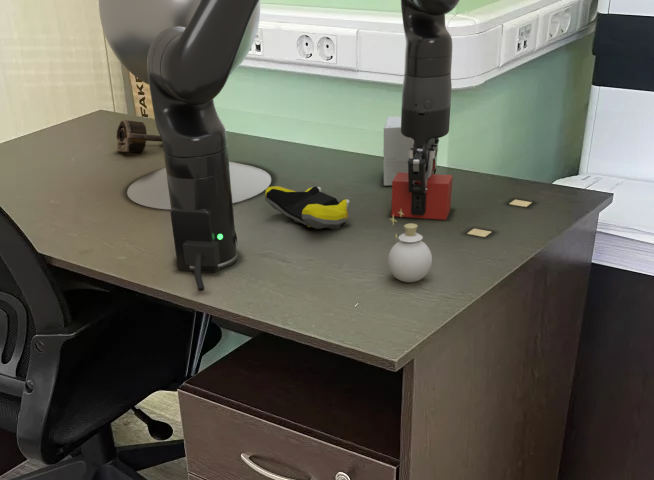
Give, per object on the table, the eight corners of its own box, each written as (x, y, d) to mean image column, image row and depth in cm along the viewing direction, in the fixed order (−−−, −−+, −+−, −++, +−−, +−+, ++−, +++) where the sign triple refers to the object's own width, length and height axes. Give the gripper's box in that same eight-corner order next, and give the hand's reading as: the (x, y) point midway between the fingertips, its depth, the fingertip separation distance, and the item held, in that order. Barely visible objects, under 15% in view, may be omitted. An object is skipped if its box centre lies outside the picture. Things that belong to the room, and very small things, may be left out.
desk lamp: (223, 154, 181) (200, -92, 157) (300, 184, 161) (287, -93, 137) (103, 185, 169) (59, -77, 145) (170, 221, 149) (132, -76, 125)
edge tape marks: (484, 237, 133) (484, 236, 133) (466, 233, 134) (466, 233, 134) (532, 202, 144) (532, 202, 144) (515, 200, 145) (515, 199, 145)
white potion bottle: (408, 293, 118) (409, 223, 113) (372, 276, 123) (372, 209, 118) (440, 280, 121) (443, 212, 115) (404, 265, 126) (405, 198, 121)
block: (446, 219, 140) (448, 183, 137) (391, 216, 143) (392, 180, 140) (450, 210, 144) (452, 175, 140) (396, 207, 146) (397, 172, 143)
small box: (414, 186, 155) (415, 126, 149) (382, 186, 156) (383, 127, 151) (416, 172, 162) (417, 115, 156) (386, 172, 163) (386, 115, 157)
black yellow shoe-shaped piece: (310, 243, 136) (361, 227, 140) (308, 209, 133) (361, 194, 137) (261, 217, 147) (309, 204, 151) (258, 186, 144) (308, 173, 148)
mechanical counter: (112, 122, 189) (108, 123, 180) (169, 110, 189) (168, 110, 180) (120, 155, 191) (116, 158, 182) (176, 144, 192) (175, 146, 182)
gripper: (410, 91, 141) (407, 193, 150) (392, 114, 129) (389, 222, 138) (457, 92, 138) (450, 196, 147) (442, 115, 127) (436, 226, 136)
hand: (421, 208), depth 143 cm, fingers closed on block, 4 cm apart
